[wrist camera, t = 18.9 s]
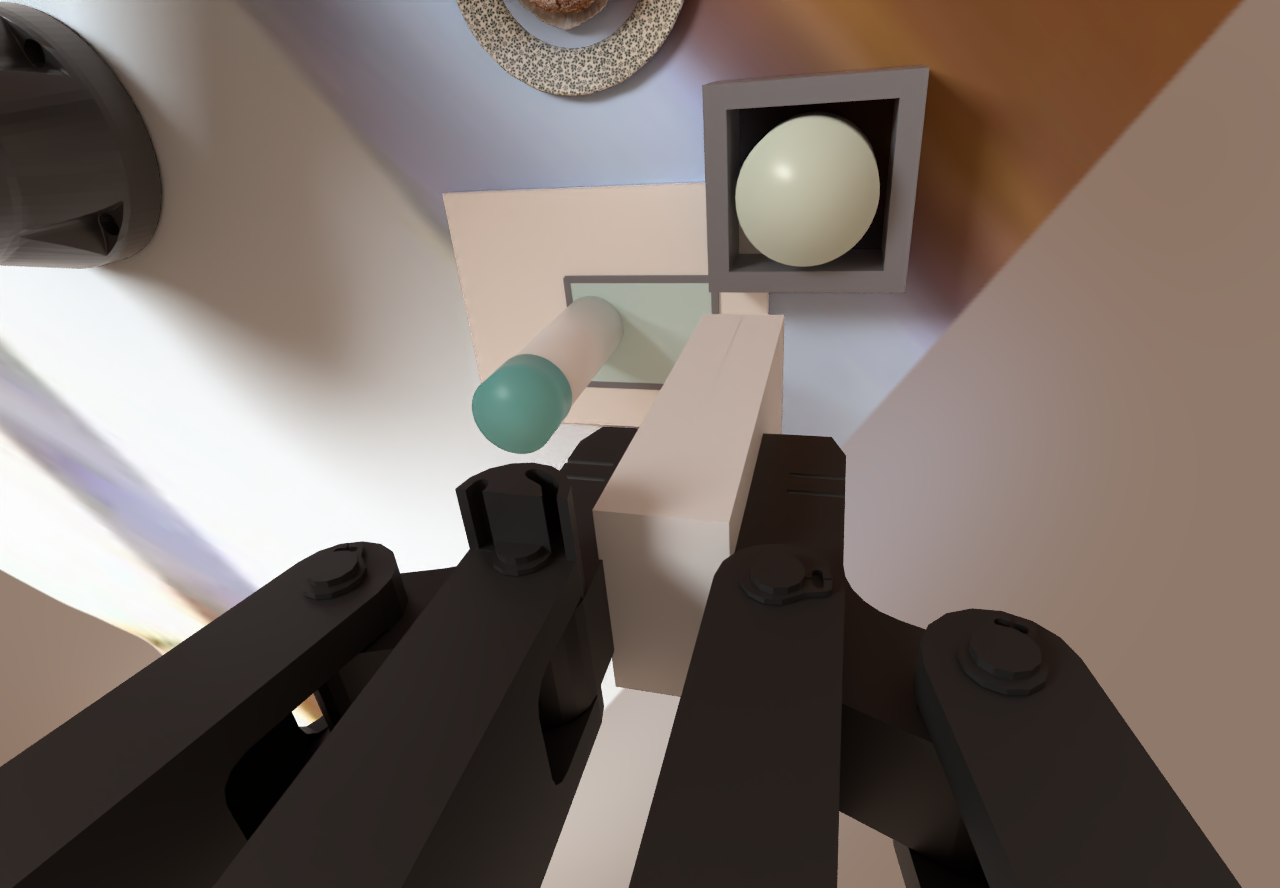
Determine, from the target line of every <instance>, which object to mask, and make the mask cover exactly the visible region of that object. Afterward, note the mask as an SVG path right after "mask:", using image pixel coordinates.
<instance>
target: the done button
mask: <svg viewBox="0 0 1280 888" xmlns="http://www.w3.org/2000/svg"><path fill="white" fill-rule="evenodd" d="M879 195H880V182H879V173H878V167H877V162H876V157H875V154H874V151H873V148H872V146H871V144H870V142H869V140H868V138H867V137H866V135H865V134H864V133H863V132H862V131H861V129H859V128H858V127H857V126H856V125H855V124H854V123H852V122H851V121H849V120H848V119H846V118H844V117H842V116H840V115H837V114H833V113H829V112H822V111H813V112H806V113H801V114H798V115H795V116H792V117H790V118H788V119H786V120H784V121H783V122H781V123H779V124H778V125H777V126H775V127H774V128H773V129H772V130H771V131H770V132H769V133H768V134H767V135H766V136H765V137H764V138H763V139H762V140H761V141H760V142H759V143H758V144H757V145H756V146H755V147H754V148H753V150H752V151H751V152H750V154H749V155H748V157H747V159H746V160H745V162H744V164H743V166H742V168H741V171H740V174H739V177H738V180H737V186H736V197H735V201H736V210H737V215H738V219H739V222H740V225H741V227H742V229H743V231H744V233H745V235H746V236H747V238H748V239H749V241H750V242H751V243H752V244H753V245H754V247H755V248H756V249H758V250H759V251H760V252H761V253H762V254H764V255H765V256H767V257H768V258H770V259H772V260H774V261H776V262H779V263H782V264H785V265H790V266H799V267H806V266H815V265H820V264H823V263H826V262H829V261H832V260H834V259H836V258H838V257H840V256H841V255H843V254H844V253H846V252H847V251H849V250H850V249H851V248H852V247H854V246H855V245H856V243H857V242H858V241H859V240H860V239H861V238H862V237H863V235H864V234H865V233H866V231H867V230H868V228H869V226H870V225H871V223H872V221H873V218H874V216H875V213H876V210H877V206H878V202H879Z"/></svg>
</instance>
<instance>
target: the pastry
mask: <svg viewBox="0 0 1280 888" xmlns="http://www.w3.org/2000/svg"><path fill="white" fill-rule="evenodd" d="M519 1H520V3H521V4H522V5H523V6H524V8H526V9H529V10H530V11H531V12H532V13H534V14H535V15H536V17H537V18H539V19H540V20H541V21H543V22H545V23H547V24H548V25H552V26H554V27H557V28H561V29H565V30H567V29H573V27H577V26H579V25H580V24H581V23H582V22H586V21H587V20H588V19H589V18H593V17H594V16H595V14H597V13H599V12H601V11H602V8H604V7H605V6H606V5H607V2H608V0H519ZM457 3H458V5H459V8H460V10H461V12H462V15H463V17H464V19H465V21H466V22H467V25H468V26H469V28H470V30H471V31H472V33H473V35H474V36H475V38H476V39H477V41H478V42H479V43H480V44H481V46H482V47H483V48H484V49H485V50H486V51H487V52H488V53H489V54H490V55H491V56H492V57H493V59H494V60H495V61H497V63H498V64H499V65H500V66H501V67H502V68H503V69H504V70H505V71H507V72H508V73H509V74H510V75H512V76H514V77H515V78H517V79H519V80H520V81H522V82H524V83H526V84H528V85H530V86H532V87H534V88H536V89H538V90H541V91H544V92H547V93H551V94H556V95H563V96H582V95H587V94H592V93H596V92H599V91H602V90H604V89H607V88H610V87H612V86H615V85H617V84H619V83H621V82H624V81H625V80H626V79H629V77H630V76H632V75H633V74H634V73H636V72H637V71H638V70H639V69H640V68H641V67H643V66H644V65H645V64H646V63H647V62H648V61H649V60H650V59H651V58H652V57H653V56H654V55H655V54H656V52H657V51H658V50H659V48H660V47H661V46H662V44H663V43H664V42H665V41H666V39H667V37H668V35H669V34H670V32H671V31H672V29H673V26H674V24H675V22H676V20H677V18H678V16H679V13H680V11H681V9H682V6H683V3H684V0H639V1H638V4H637V6H636V7H635V9H634V11H633V12H632V14H631V15H630V17H629V18H628V19H627V21H626V22H625V23H624V24H623V25H622V26H621V27H620V28H619V29H618V30H617V31H616V32H614V33H613V34H612V35H611V36H609V37H607V38H606V39H604V40H603V41H601V42H599V43H597V44H594V45H591V46H587V47H582V48H575V49H574V48H561V47H557V46H553V45H550V44H547V43H545V42H542V41H541V40H539V39H537V38H535V37H534V36H532V35H531V34H530V33H528V32H527V31H526V30H525V29H524V28H523V27H522V26H521V25H520V24H519V23H518V22H517V21H516V20H515V19H514V17H513V16H512V15H511V13H510V12H509V10H508V9H507V7H506V6H505V4H504V2H503V0H457ZM585 9H586V10H585Z"/></svg>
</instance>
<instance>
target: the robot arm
mask: <svg viewBox="0 0 1280 888" xmlns="http://www.w3.org/2000/svg"><path fill="white" fill-rule="evenodd" d="M160 208H161V185H160V177H159V171H158V166H157V161H156V157H155V154H154V150H153V147H152V144H151V141H150V139H149V136H148V133H147V131H146V129H145V126H144V124H143V122H142V120H141V117H140V115H139V113H138V112H137V110H136V108H135V106H134V104H133V102H132V101H131V99H130V97H129V95H128V94H127V92H126V91H125V89H124V88H123V86H122V85H121V83H120V82H119V80H118V79H117V78H116V76H115V75H114V74H113V72H112V71H111V70H110V68H109V67H108V66H107V65H106V64H105V62H104V61H103V60H102V59H101V58H100V57H99V56H98V55H97V53H96V52H95V51H94V50H93V49H92V48H91V47H90V46H89V45H88V44H87V43H86V42H85V41H83V40H82V39H81V38H80V37H79V36H78V35H76V34H75V33H74V32H73V31H71V30H70V29H69V28H68V27H66V26H65V25H63V24H62V23H60V22H59V21H57V20H56V19H54V18H52V17H51V16H49V15H47V14H45V13H43V12H41V11H38V10H36V9H34V8H31V7H28V6H25V5H21V4H16V3H9V2H0V265H2V266H27V267H52V268H77V269H81V268H92V267H98V266H101V265H105V264H108V263H111V262H115V261H118V260H122V259H125V258H128V257H130V256H133V255H134V254H136V253H138V252H139V251H140V250H142V249H143V248H144V247H145V246H146V244H147V243H148V242H149V241H150V239H151V237H152V236H153V234H154V231H155V229H156V226H157V223H158V219H159V215H160ZM783 352H784V315H748V314H703V316H702V318H701V319H700V321H699V323H698V325H697V326H696V328H695V330H694V332H693V333H692V335H691V337H690V339H689V341H688V342H687V344H686V346H685V348H684V349H683V351H682V353H681V355H680V356H679V358H678V360H677V362H676V363H675V365H674V367H673V369H672V371H671V372H670V374H669V376H668V378H667V379H666V381H665V383H664V385H663V386H662V388H661V390H660V392H659V393H658V395H657V397H656V399H655V401H654V402H653V404H652V406H651V408H650V409H649V411H648V413H647V415H646V416H645V418H644V420H643V422H642V423H641V425H640V427H639V429H636V428H618V427H602V428H600V429H599V430H597V431H596V432H594V433H593V434H591V435H590V436H588V437H586V438H585V439H583V440H582V441H580V443H579V444H578V445H577V447H576V448H575V450H574V451H573V453H572V454H571V456H570V457H569V458H568V463H565V464H564V466H563V467H562V468H561V470H560V471H559V470H557V469H556V468H554V467H552V466H547V465H542V464H537V463H515V464H508V465H504V466H499V467H495V468H490V469H488V470H486V471H483V472H481V473H479V474H477V475H474V476H472V477H470V478H469V479H467V480H466V481H465V482H464V483H462V484H461V485H460V486H459V487H457V488H456V489H455V490H456V494H457V498H458V502H459V506H460V510H461V515H462V519H463V523H464V527H465V531H466V535H467V539H468V543H469V547H470V550H469V551H468V552H467V554H466V555H465V556H464V558H463V559H462V560H461V561H460V563H459V564H458V565H457V566H456V567H451V568H445V569H436V570H427V571H418V572H410V573H401V574H400V572H399V569H398V566H397V563H396V560H395V557H394V554H393V552H392V551H391V550H389V549H388V548H386V547H385V546H383V545H381V544H376V543H370V542H354V543H345V544H339V545H336V546H334V547H330V548H327V549H324V550H321V551H318V552H317V553H315V554H313V555H311V556H309V557H307V558H306V559H304V560H302V561H300V562H298V563H297V564H295V565H294V566H292V567H291V568H289V569H288V570H287V571H285V572H284V573H282V574H281V575H279V576H278V577H276V578H275V579H273V580H272V581H271V582H269V583H268V584H266V585H265V586H263V587H262V588H260V589H259V590H257V591H256V592H254V593H253V594H252V595H250V596H249V597H247V598H246V599H244V600H243V601H241V602H240V603H238V604H237V605H236V606H234V607H233V608H231V609H230V610H228V611H227V612H225V613H224V614H222V615H221V616H220V617H218V618H217V619H215V620H214V621H212V622H211V623H209V624H208V625H206V626H205V627H203V628H202V629H201V630H199V631H198V632H196V633H195V634H193V635H192V636H190V637H189V638H187V639H186V640H185V641H183V642H182V643H180V644H179V645H177V646H176V647H174V648H173V649H171V650H170V651H169V652H167V653H166V654H164V655H163V656H161V657H160V658H158V659H157V660H155V661H154V662H153V663H151V664H150V665H148V666H147V667H145V668H144V669H142V670H141V671H140V672H138V673H137V674H135V675H134V676H132V677H131V678H129V679H128V680H126V681H125V682H123V683H122V684H120V685H119V686H118V687H116V688H115V689H113V690H112V691H110V692H109V693H107V694H106V695H104V696H103V697H102V698H100V699H99V700H97V701H96V702H94V703H93V704H91V705H90V706H89V707H87V708H85V709H84V710H83V711H81V712H80V713H78V714H77V715H75V716H74V717H72V718H71V719H69V720H68V721H67V722H65V723H64V724H62V725H61V726H59V727H58V728H56V729H55V730H53V731H52V732H51V733H49V734H48V735H46V736H45V737H43V738H42V739H40V740H39V741H38V742H36V743H35V744H33V745H32V746H30V747H29V748H27V749H26V750H25V751H23V752H22V753H20V754H19V755H17V756H16V757H14V758H13V759H11V760H10V761H8V762H7V763H6V764H4V765H3V766H1V767H0V888H540V887H541V884H542V881H543V879H544V876H545V874H546V871H547V868H548V865H549V863H550V860H551V857H552V855H553V852H554V849H555V846H556V844H557V841H558V839H559V836H560V833H561V831H562V828H563V825H564V822H565V820H566V817H567V814H568V812H569V809H570V806H571V804H572V801H573V798H574V795H575V793H576V790H577V788H578V785H579V782H580V779H581V777H582V774H583V771H584V769H585V766H586V763H587V760H588V758H589V755H590V753H591V750H592V747H593V745H594V742H595V739H596V736H597V734H598V731H599V728H600V725H601V723H602V716H603V709H604V704H603V697H602V691H601V683H602V681H603V678H604V675H605V673H606V670H607V668H608V665H609V663H610V660H611V658H612V661H613V668H614V676H615V683H616V686H617V687H623V688H629V689H635V690H641V691H648V692H654V693H660V694H666V695H672V696H679V697H681V698H680V702H679V705H678V709H677V712H676V716H675V720H674V724H673V727H672V731H671V735H670V738H669V742H668V746H667V749H666V753H665V757H664V760H663V764H662V767H661V771H660V775H659V778H658V782H657V786H656V789H655V793H654V797H653V801H652V804H651V808H650V811H649V815H648V819H647V822H646V826H645V830H644V833H643V837H642V841H641V844H640V848H639V852H638V855H637V859H636V863H635V866H634V870H633V874H632V877H631V882H630V885H629V888H837V869H838V830H839V829H838V828H839V811H840V812H842V813H844V814H846V815H848V816H850V817H852V818H854V819H856V820H858V821H860V822H861V823H863V824H865V825H867V826H869V827H871V828H873V829H875V830H877V831H879V832H880V833H882V834H884V835H886V836H888V837H890V838H892V839H893V843H894V848H895V852H896V855H897V859H898V862H899V865H900V869H901V872H902V875H903V879H904V882H905V886H906V888H1242V887H1241V886H1240V884H1239V883H1238V881H1237V880H1236V879H1235V877H1234V876H1233V874H1232V873H1231V871H1230V870H1229V869H1228V867H1227V866H1226V864H1225V863H1224V862H1223V860H1222V859H1221V857H1220V856H1219V854H1218V853H1217V852H1216V850H1215V849H1214V847H1213V846H1212V844H1211V843H1210V842H1209V840H1208V839H1207V837H1206V836H1205V834H1204V833H1203V832H1202V830H1201V829H1200V827H1199V826H1198V825H1197V823H1196V822H1195V820H1194V819H1193V818H1192V816H1191V814H1190V813H1189V812H1188V810H1187V809H1186V807H1185V806H1184V804H1183V803H1182V802H1181V800H1180V799H1179V797H1178V796H1177V795H1176V793H1175V792H1174V790H1173V789H1172V787H1171V786H1170V784H1169V783H1168V782H1167V780H1166V779H1165V777H1164V776H1163V774H1162V773H1161V772H1160V770H1159V769H1158V767H1157V766H1156V765H1155V763H1154V762H1153V760H1152V759H1151V758H1150V756H1149V755H1148V753H1147V752H1146V750H1145V749H1144V747H1143V746H1142V745H1141V743H1140V742H1139V740H1138V739H1137V737H1136V736H1135V735H1134V733H1133V732H1132V730H1131V729H1130V727H1129V726H1128V725H1127V723H1126V722H1125V720H1124V719H1123V717H1122V716H1121V715H1120V713H1119V712H1118V710H1117V709H1116V708H1115V706H1114V705H1113V703H1112V702H1111V700H1110V699H1109V698H1108V696H1107V695H1106V693H1105V692H1104V690H1103V689H1102V687H1101V686H1100V685H1099V683H1098V682H1097V680H1096V679H1095V678H1094V676H1093V675H1092V674H1091V672H1090V670H1089V669H1088V668H1087V666H1086V665H1085V663H1084V662H1083V660H1082V659H1081V658H1080V657H1079V656H1078V655H1077V654H1076V653H1075V652H1074V651H1073V650H1072V649H1071V648H1070V647H1069V646H1068V645H1067V644H1066V643H1065V642H1064V641H1063V640H1062V639H1061V638H1060V637H1058V636H1057V635H1055V634H1054V633H1052V632H1050V631H1048V630H1047V629H1045V628H1043V627H1042V626H1040V625H1038V624H1037V623H1035V622H1033V621H1031V620H1027V619H1024V618H1021V617H1018V616H1014V615H1012V614H1009V613H1006V612H1003V611H993V610H982V609H967V610H962V611H956V612H951V613H946V614H945V615H943V616H942V617H940V618H939V619H937V620H935V621H934V622H932V623H931V624H929V625H928V627H927V629H926V630H925V629H922V628H920V627H917V626H914V625H911V624H908V623H905V622H902V621H900V620H897V619H895V618H893V617H891V616H889V615H886V614H884V613H882V612H879V611H878V610H877V609H875V608H874V607H872V606H870V605H869V604H868V603H866V602H865V601H863V600H862V599H861V597H859V596H858V595H857V593H856V592H854V591H853V589H852V588H851V586H850V584H849V583H848V581H847V579H846V577H845V573H844V567H843V549H844V511H845V510H844V509H845V473H846V471H845V470H846V455H845V454H844V453H843V451H842V450H841V449H840V447H839V446H838V445H837V444H836V442H835V441H834V440H833V438H832V437H820V436H802V435H784V434H782V395H783ZM313 693H314V695H315V698H316V700H317V702H318V705H319V707H320V709H321V712H322V714H323V716H322V717H321V718H320V719H318V720H316V721H315V722H313V723H312V724H310V725H308V726H306V727H298V724H297V722H296V720H295V718H294V716H293V714H292V711H293V710H294V709H295V708H297V707H298V706H299V705H300V704H301V703H302V702H303V701H305V700H306V699H307V698H308V697H309V696H310V695H312V694H313Z"/></svg>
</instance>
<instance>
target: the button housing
mask: <svg viewBox="0 0 1280 888" xmlns="http://www.w3.org/2000/svg"><path fill="white" fill-rule="evenodd" d="M929 69H930V68H929V67H926V66H923V65H914V66H902V67H889V68H877V69H864V70H851V71H839V72H826V73H814V74H801V75H788V76H776V77H763V78H751V79H738V80H726V81H717V82H713V83H709V84H705V85H702V87H703V120H704V152H705V185H706V218H707V250H708V283H709V292H735V293H905V289H906V280H907V271H908V262H909V252H910V243H911V234H912V225H913V216H914V206H915V197H916V188H917V179H918V170H919V160H920V151H921V142H922V133H923V124H924V114H925V105H926V96H927V87H928V78H929ZM891 98H895V99H894V111H893V122H892V133H891V144H890V156H889V167H888V178H887V189H886V201H885V212H884V223H883V234H882V245H881V249H852V250H849V251H847V252H846V253H844V254H843V255H841V256H840V257H838V258H836V259H834V260H832V261H829V262H826V263H823V264H820V265H815V266H806V267H799V266H790V265H785V264H782V263H779V262H776V261H774V260H772V259H770V258H768V257H767V256H765V255H764V254H739V219H738V215H737V210H736V201H735V197H736V186H737V180H738V177H739V174H740V109H744V108H759V107H774V106H788V105H803V104H818V103H832V102H847V101H862V100H876V99H891Z"/></svg>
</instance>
